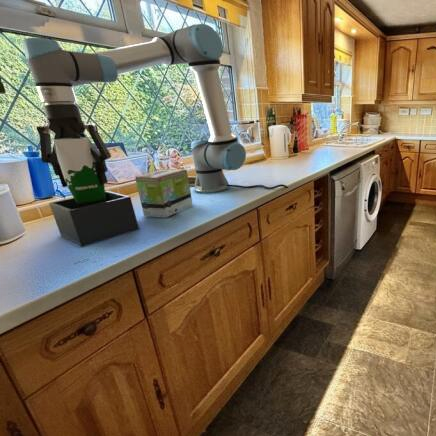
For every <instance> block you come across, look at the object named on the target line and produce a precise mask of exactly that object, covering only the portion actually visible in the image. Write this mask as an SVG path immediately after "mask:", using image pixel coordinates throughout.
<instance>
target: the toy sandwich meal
mask: <svg viewBox="0 0 436 436" xmlns="http://www.w3.org/2000/svg"><path fill="white" fill-rule="evenodd" d="M188 181H189V187H195V181H196V175H188Z"/></svg>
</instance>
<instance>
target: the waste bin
mask: <svg viewBox="0 0 436 436" xmlns="http://www.w3.org/2000/svg"><path fill="white" fill-rule="evenodd" d="M105 195H106V199H102V200H96V201H91V202H85V203H79V204H77V203H76V201H75V199H74V197H70V198H67V199H62V200H57V201H51V202H48V203H49V206H50V210H51V212H52V215H53V218H54V220H55V223H56V227H57V229H58V231H59V234H60V236H61V237H62V238H64V239H66V240H67V241H70V242H71V243H73V244H75V245H77V246H79V247H81V248H83V247H86V246H89V245H92V244H96V243H99V242H102V241H105V240H108V239H111V238H114V237H118V236H121V235H124V234H127V233H130V232H133V231H136V230H140V228H139V224H138V220H137V216H136V212H135V209H134V205H133V201H132V198H131V196H130V195H125V194H123V193H118V192H114V191H110V190H105Z"/></svg>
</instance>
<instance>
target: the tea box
mask: <svg viewBox="0 0 436 436" xmlns="http://www.w3.org/2000/svg"><path fill="white" fill-rule="evenodd" d="M188 176H189V175H188V171H187V169H184V168H183V169H180V168H177V169H175V168H165V169H161V170H156V171H151V172H149V173H145V174H141V175H137V176H135V177H134V178H135V183H136V187H137V192H138V196H139V201H140V205H141V210H142V213H143V216H144V217H147V218H164V219H166V218H169V217H170V216H172V215H174V214H177V213H179V212H181V211H183V210H185V209H188V208H190V207H193V204H194V203H193V198H192V193H191V188H190V187H191V186H189V181H188Z"/></svg>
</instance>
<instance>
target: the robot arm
mask: <svg viewBox="0 0 436 436" xmlns="http://www.w3.org/2000/svg"><path fill="white" fill-rule="evenodd" d="M22 47H23V51H24V55H25V60H26V62H27V64H28V66H29V70H30V72H31V73H30V74H31V76H32V78H33V81H34V84H35V87H36V91H37V93H38V98H39V99H40V102H41V103H42V104H43V106H42V109H43V111H44V115H45V117H46V119H47V121H48V125H41V126H36V131H37V133H38V135H39V141H40V142H39V145H40V146H39V147H40V159H41V162H42V163H43V164H45V163H46V164H50V165H51V167H52V169H53V172H54V174H55V176H58V178H59V181H60V184H61V186H62V188H68V186H67V184H66V182H65V179H64V176H63V173H62V170H61V167H60V164H59V161H58V158H57V152H56V153H55V151H56V147H55V148H54V145H53V146H52V137H51V133H54V138H53V144H54V143H55V140H54V139H59V140H60V139H64V138H69V139H82V138H85V137H88V136H87V135H86V134H85V133H84V132H85V130H86V132H88V133H89V136H90V138H91V139H92V141H93V143H94V144H93V143H91V144H93V145H92V146H93V148H91V147H90V149H91V155H92V156H93V157H94V158H95V159H96V160H97V161H96V162H94V164H95V167H96V170H97V174H98V177H99V180H100V184H104V185H105V184H107V183H109V182H108V181H109V180H108V179H107V174H106V173H107V172H108V167H107V163H106V160H108V159H111V158H112V154H111V153H110V151H109V149H108V148H107V146H106V144H105V141H104V140H103V139H102V137H101V135H100V133H99V129H98V125H97V124H95V123H93V124H92V123H90V124H88V123H87V124H86V123H85V122H84V121H83V119H82V118H83V117H82V114H81V110H80V107H79V106H78V104H76V103H77V102H78V99H77V97H76V94H75V91H74V88H73V87H78V86H81V85H82V86H83V85H89V84H94V83H104V84H107V83H108V84H109V83H111V84H112V83H115V82H117V80H118V78H119V77H118V76H120V75H125V74H128V73H132V72H136V71H140V70H145V69H148V68H153V67H156V66H160V65H163V66H165V67H169V66H172V65H173V66H174V65H188V68H189V69H190V71H192V72H194V74H195V78H196V79H195V80H196V83H197V87H198V90H199V94H200V98H201V102H202V106H203V110H204V114H205V118H206V122H207V126H208V129H209V133H210V136H209V138H206V139H205V138H204V139H198V140H194V141H191V143H190V147H191V154H192V159H193V163H194V164H193V165H194V170H195V176H196V181H195V186H194V192H195V193H198V194H215V193H221V192H224V191H227V190H228V189H229V188H240V189H253V188H264V189H266V190H274V189H277V188H280V187H284V188H285V189H288V188H289V186H287V185H285V184H277V185H274V186H266V185H263V184H255V185H239V184H238V185H237V184H229V181H228V179H227V177H226V175H225V174H224V171H225V170H226V171H237V170H239V169H240V168H242V166H244V163H245V162H246V159H247V158H246V157H247V152H246V148H245V147H244V146H243V145H242V143H240V142H239V141H238V136H237V135H236V134H234V133H233V131H232V128H231V127H232V126H231V123H230V118H229V113H228V109H227V104H226V100H225V96H224V91H223V87H222V84H221V78H220V74H219V69H220V67H221V65H222V64H221V60H220V58H221V57H222V56H223V52H224V43H223V41H222V38H221V36H220V35H219V33H218V32H217V31H216V30H215V29H214V28H213V27H212V26H210V25H208V24H205V23H197V24H196V23H195V24H192V25H189V26H186V27H183V28H179V29H176V30H173V31H171V32H169V33H166V34H164V35H161V36H156V37H153V39H152V40H151V41H148V42H147V41H146V42H143V43H137V44H133V45H132V44H131V45H128V46H121V47H117V48H111V49H106V50H101V51H97V52H92V53H90V52H81V51H70V50H66V49H63V47H62V45H61V44H60V43H59V41H57V40H55V39H50V38H45V37H27V38H24V39H23V40H22ZM223 170H224V171H223Z"/></svg>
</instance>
